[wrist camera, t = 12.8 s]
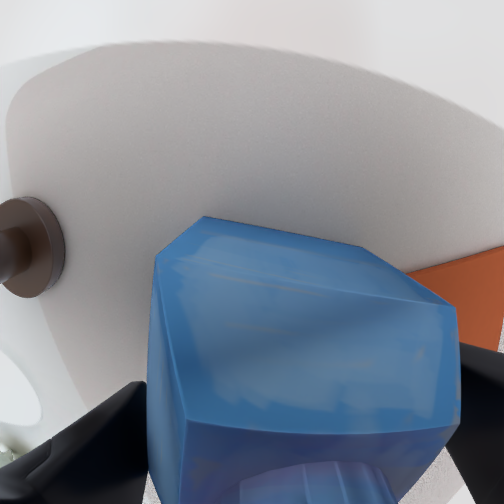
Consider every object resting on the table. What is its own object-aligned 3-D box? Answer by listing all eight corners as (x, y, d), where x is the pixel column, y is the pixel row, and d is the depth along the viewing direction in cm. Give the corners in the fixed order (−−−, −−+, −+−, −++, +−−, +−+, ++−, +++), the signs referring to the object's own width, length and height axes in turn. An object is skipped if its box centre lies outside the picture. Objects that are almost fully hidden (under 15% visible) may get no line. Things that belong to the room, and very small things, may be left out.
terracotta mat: (484, 383, 14) (488, 387, 13) (357, 434, 14) (359, 440, 14) (504, 244, 12) (510, 247, 11) (351, 286, 12) (356, 290, 11)
